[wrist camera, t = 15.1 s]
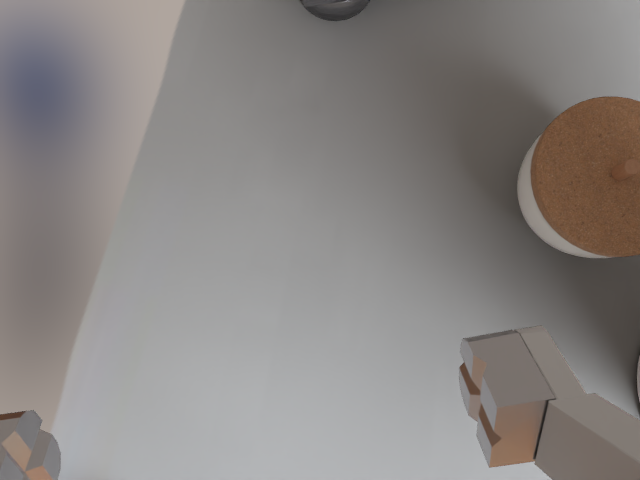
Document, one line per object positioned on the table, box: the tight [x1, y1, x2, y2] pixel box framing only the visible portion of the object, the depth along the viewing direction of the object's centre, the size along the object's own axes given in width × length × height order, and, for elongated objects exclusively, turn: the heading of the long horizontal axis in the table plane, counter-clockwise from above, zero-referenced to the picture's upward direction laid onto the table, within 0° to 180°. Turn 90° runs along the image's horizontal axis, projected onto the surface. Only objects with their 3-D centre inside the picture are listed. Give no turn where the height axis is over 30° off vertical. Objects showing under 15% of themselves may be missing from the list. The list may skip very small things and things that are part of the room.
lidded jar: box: [517, 97, 640, 258], centre depth 38 cm, size 11×11×9 cm
